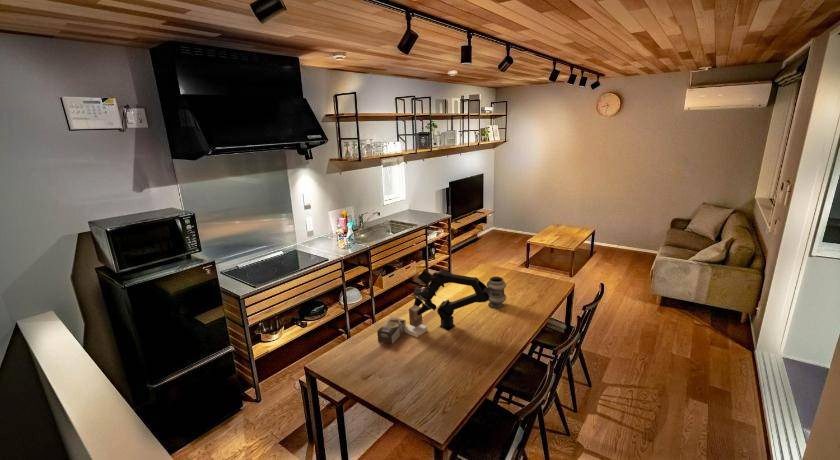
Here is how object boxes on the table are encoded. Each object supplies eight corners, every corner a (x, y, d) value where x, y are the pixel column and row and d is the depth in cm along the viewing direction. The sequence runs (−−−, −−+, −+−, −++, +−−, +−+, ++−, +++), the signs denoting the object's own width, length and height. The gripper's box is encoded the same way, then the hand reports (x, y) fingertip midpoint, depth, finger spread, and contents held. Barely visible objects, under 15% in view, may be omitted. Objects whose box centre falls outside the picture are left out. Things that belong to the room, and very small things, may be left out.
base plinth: (427, 330, 215) (427, 326, 215) (416, 337, 209) (416, 333, 208) (415, 325, 221) (415, 321, 221) (404, 332, 215) (404, 328, 214)
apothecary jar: (484, 308, 237) (484, 281, 231) (488, 299, 247) (488, 273, 242) (504, 311, 232) (504, 284, 227) (507, 302, 243) (508, 276, 238)
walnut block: (422, 323, 214) (421, 307, 211) (416, 327, 210) (415, 311, 207) (415, 320, 217) (414, 304, 214) (409, 324, 214) (408, 308, 211)
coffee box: (405, 319, 216) (391, 334, 202) (406, 329, 218) (392, 344, 204) (391, 316, 219) (376, 330, 205) (391, 326, 221) (377, 341, 207)
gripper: (414, 276, 217) (398, 299, 216) (430, 288, 201) (412, 313, 200) (427, 286, 223) (411, 308, 221) (444, 298, 207) (426, 322, 205)
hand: (415, 312), depth 212 cm, fingers closed on walnut block, 6 cm apart
